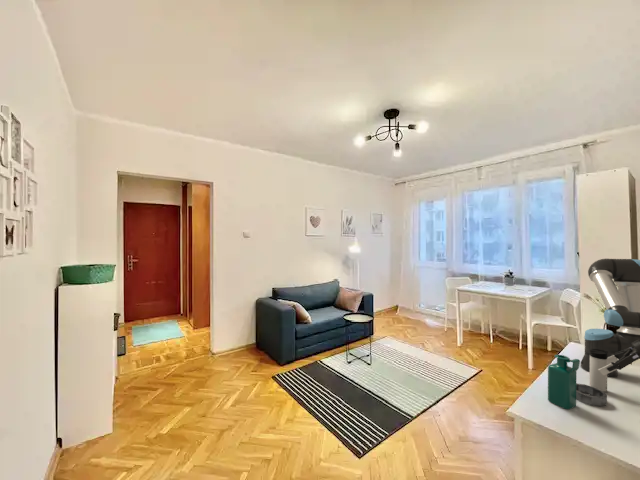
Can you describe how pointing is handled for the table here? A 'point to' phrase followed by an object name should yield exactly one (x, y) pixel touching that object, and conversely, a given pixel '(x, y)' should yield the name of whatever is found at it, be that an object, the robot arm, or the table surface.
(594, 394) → the ring collar
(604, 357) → the travel mug
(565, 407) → the green bottle
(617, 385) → the table surface
